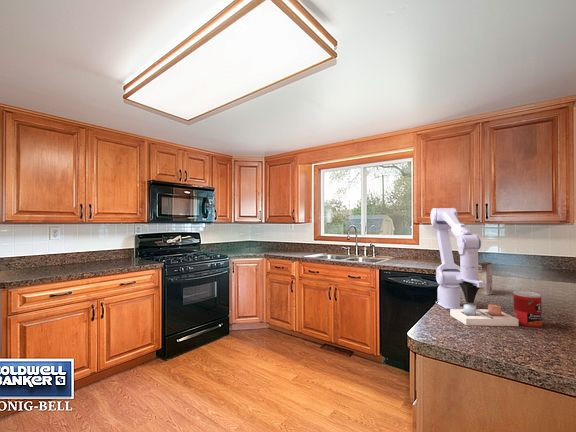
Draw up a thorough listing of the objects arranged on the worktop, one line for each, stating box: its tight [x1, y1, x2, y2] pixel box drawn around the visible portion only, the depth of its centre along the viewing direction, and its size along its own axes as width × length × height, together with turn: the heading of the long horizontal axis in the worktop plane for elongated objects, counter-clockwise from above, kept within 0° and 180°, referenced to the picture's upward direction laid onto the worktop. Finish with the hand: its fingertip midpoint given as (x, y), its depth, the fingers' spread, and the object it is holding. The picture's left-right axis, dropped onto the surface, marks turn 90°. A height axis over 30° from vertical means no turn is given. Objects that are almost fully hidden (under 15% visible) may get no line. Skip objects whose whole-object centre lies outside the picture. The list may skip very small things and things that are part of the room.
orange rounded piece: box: [487, 303, 502, 316], centre depth 105 cm, size 4×4×4 cm
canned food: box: [512, 290, 543, 328], centre depth 102 cm, size 8×8×11 cm
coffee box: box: [477, 260, 493, 296], centre depth 146 cm, size 9×6×16 cm
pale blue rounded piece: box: [463, 303, 477, 316], centre depth 106 cm, size 4×4×4 cm
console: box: [449, 308, 520, 327], centre depth 106 cm, size 11×18×3 cm, turn 87°
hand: (469, 302), depth 106 cm, fingers closed
